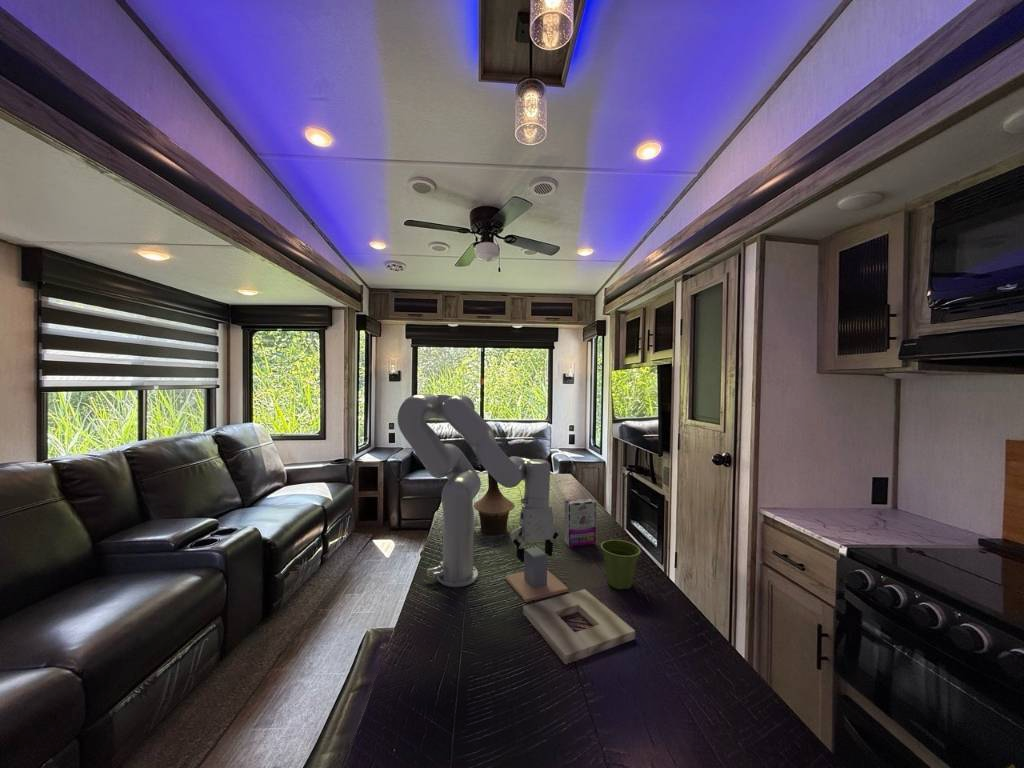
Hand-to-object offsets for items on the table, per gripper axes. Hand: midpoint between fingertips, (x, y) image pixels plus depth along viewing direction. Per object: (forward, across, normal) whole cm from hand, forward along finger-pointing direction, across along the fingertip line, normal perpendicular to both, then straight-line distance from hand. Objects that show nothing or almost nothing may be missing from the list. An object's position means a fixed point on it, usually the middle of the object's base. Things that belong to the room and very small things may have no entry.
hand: (534, 557), depth 115 cm
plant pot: (+8, +24, -10) cm, 28 cm away
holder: (+8, 0, -21) cm, 23 cm away
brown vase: (+9, +6, +44) cm, 45 cm away
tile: (+8, 0, 0) cm, 8 cm away
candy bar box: (+8, +30, +19) cm, 37 cm away
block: (+7, 0, 0) cm, 7 cm away
